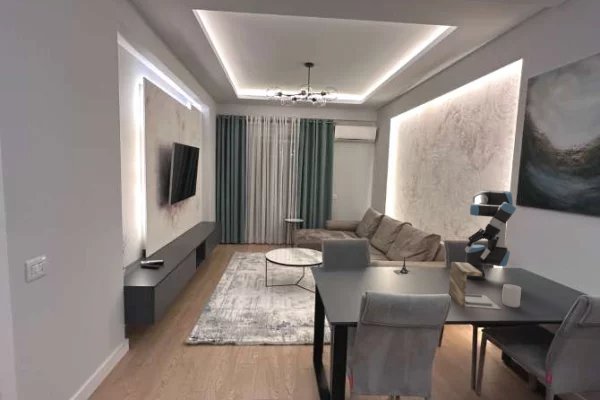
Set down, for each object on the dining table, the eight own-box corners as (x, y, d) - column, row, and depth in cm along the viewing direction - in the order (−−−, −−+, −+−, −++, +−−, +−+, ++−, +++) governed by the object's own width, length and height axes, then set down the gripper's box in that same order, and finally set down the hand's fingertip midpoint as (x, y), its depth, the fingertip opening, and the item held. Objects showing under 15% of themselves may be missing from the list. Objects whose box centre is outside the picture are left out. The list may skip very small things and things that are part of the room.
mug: (508, 299, 192) (510, 282, 191) (523, 307, 180) (525, 289, 179) (494, 299, 192) (496, 281, 191) (508, 307, 180) (510, 289, 179)
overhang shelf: (465, 294, 198) (468, 262, 197) (479, 307, 179) (482, 272, 177) (448, 293, 200) (450, 261, 198) (460, 306, 180) (463, 271, 178)
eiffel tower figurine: (409, 270, 248) (409, 253, 247) (416, 274, 238) (417, 256, 237) (391, 271, 245) (392, 254, 244) (398, 275, 235) (399, 257, 234)
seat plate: (484, 295, 197) (484, 293, 197) (500, 309, 177) (500, 306, 177) (453, 293, 199) (454, 291, 199) (466, 306, 180) (466, 304, 179)
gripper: (483, 221, 187) (462, 251, 192) (514, 236, 194) (492, 264, 199) (475, 216, 194) (455, 245, 199) (504, 230, 201) (484, 257, 206)
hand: (474, 254), depth 199 cm, fingers open, 13 cm apart
